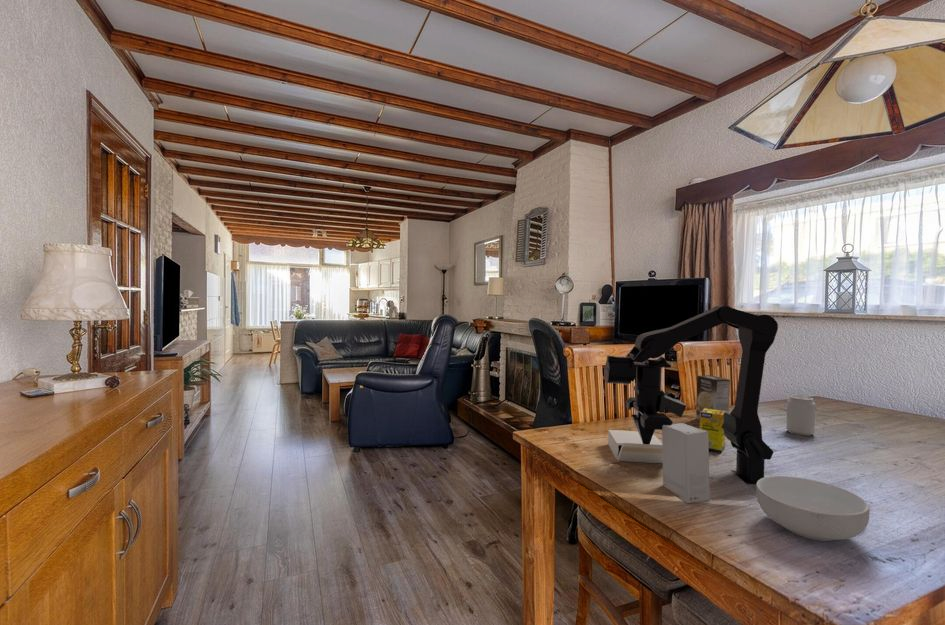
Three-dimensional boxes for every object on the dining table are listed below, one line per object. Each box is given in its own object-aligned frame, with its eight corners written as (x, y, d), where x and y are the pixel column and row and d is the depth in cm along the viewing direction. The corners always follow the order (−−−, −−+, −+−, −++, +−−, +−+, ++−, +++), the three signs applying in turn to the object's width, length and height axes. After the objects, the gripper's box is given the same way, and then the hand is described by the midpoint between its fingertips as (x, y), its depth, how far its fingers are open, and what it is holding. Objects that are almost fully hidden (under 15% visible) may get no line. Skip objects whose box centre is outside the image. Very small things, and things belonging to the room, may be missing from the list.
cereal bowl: (769, 501, 93) (771, 468, 93) (875, 532, 81) (876, 495, 81) (742, 527, 82) (743, 489, 82) (859, 568, 70) (860, 524, 70)
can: (781, 429, 148) (782, 393, 148) (805, 430, 147) (806, 394, 147) (794, 435, 141) (795, 398, 141) (820, 437, 140) (821, 399, 140)
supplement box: (722, 453, 123) (723, 414, 123) (698, 449, 126) (699, 411, 126) (725, 448, 128) (726, 410, 127) (702, 443, 131) (703, 407, 131)
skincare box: (710, 502, 92) (712, 432, 92) (685, 504, 91) (687, 433, 91) (682, 485, 101) (684, 421, 100) (659, 487, 99) (661, 422, 99)
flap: (663, 465, 113) (672, 449, 106) (617, 462, 114) (623, 446, 108) (663, 462, 113) (672, 445, 107) (617, 459, 115) (622, 442, 108)
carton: (663, 464, 114) (664, 445, 113) (616, 461, 115) (616, 442, 115) (651, 449, 125) (651, 432, 125) (608, 446, 127) (608, 429, 127)
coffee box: (694, 419, 160) (695, 375, 159) (708, 418, 162) (710, 374, 161) (714, 426, 151) (716, 379, 151) (729, 424, 153) (731, 379, 152)
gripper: (697, 395, 97) (695, 463, 98) (669, 377, 116) (667, 435, 117) (646, 393, 99) (643, 460, 100) (626, 376, 117) (624, 433, 118)
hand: (646, 446), depth 109 cm, fingers closed, pressing on flap
